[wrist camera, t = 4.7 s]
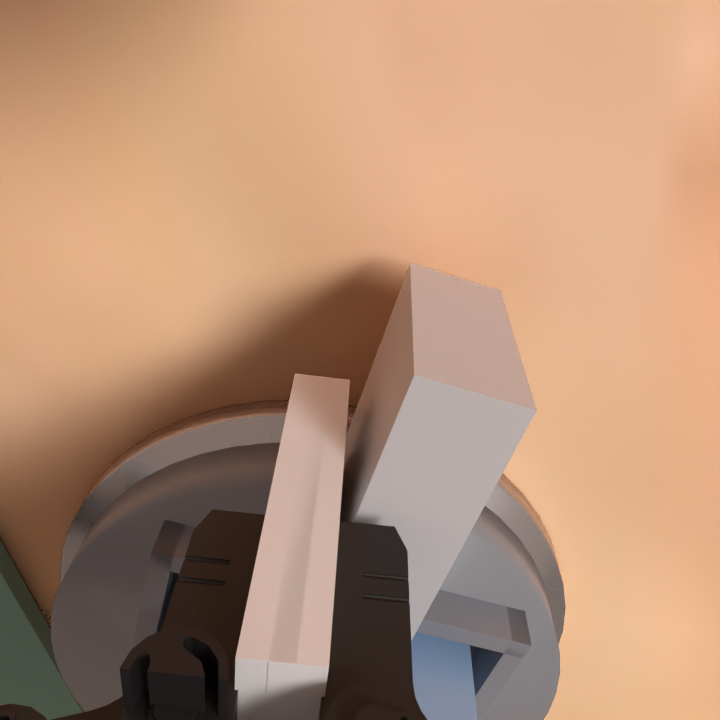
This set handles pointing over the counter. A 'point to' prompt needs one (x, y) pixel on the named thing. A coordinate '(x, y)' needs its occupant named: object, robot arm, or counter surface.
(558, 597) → the turntable base
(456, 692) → the blue block
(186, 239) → the counter surface
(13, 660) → the plate
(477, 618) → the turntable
